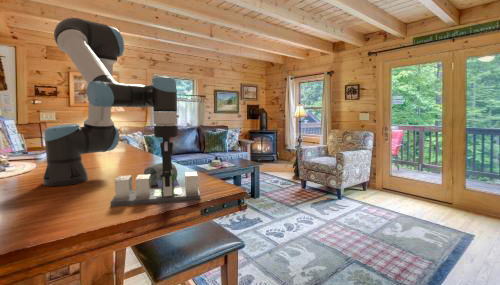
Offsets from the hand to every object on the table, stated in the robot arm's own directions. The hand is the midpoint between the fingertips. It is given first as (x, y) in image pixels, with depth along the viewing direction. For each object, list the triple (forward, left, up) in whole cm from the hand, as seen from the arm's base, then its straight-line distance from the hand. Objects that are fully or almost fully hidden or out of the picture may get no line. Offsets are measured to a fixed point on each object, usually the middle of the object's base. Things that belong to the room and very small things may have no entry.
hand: (168, 191), depth 90 cm
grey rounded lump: (-19, -3, -2) cm, 20 cm away
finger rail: (0, -3, -2) cm, 4 cm away
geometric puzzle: (0, 0, 0) cm, 0 cm away
